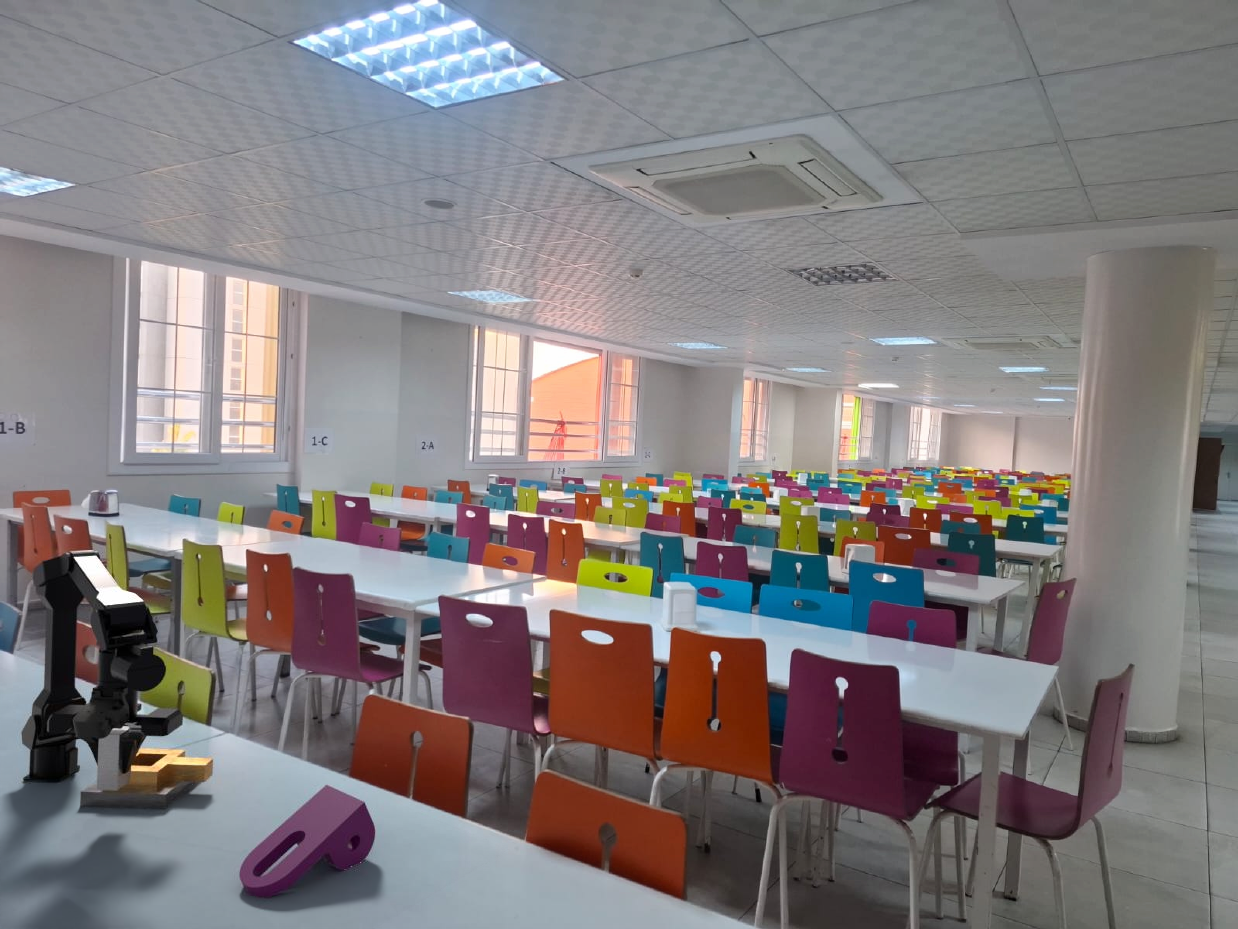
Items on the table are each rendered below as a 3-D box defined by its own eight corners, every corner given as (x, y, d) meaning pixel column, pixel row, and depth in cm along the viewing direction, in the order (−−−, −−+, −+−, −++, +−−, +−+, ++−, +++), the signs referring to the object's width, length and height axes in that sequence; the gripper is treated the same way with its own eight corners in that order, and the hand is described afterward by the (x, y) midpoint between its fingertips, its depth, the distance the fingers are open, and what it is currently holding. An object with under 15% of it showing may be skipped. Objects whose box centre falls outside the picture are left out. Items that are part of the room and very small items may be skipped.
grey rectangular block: (96, 790, 132) (98, 734, 132) (110, 779, 136) (113, 725, 136) (117, 790, 132) (119, 735, 132) (130, 780, 136) (132, 726, 136)
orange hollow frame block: (80, 806, 139) (81, 774, 139) (125, 773, 153) (126, 743, 153) (189, 810, 140) (190, 777, 140) (224, 776, 154) (226, 747, 154)
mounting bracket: (285, 939, 116) (381, 842, 129) (263, 897, 113) (364, 802, 126) (248, 914, 121) (343, 823, 134) (226, 873, 118) (326, 784, 131)
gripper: (25, 690, 125) (21, 791, 126) (151, 694, 126) (147, 795, 126) (70, 669, 136) (67, 763, 137) (186, 674, 137) (182, 767, 138)
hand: (114, 772), depth 134 cm, fingers closed on grey rectangular block, 3 cm apart
